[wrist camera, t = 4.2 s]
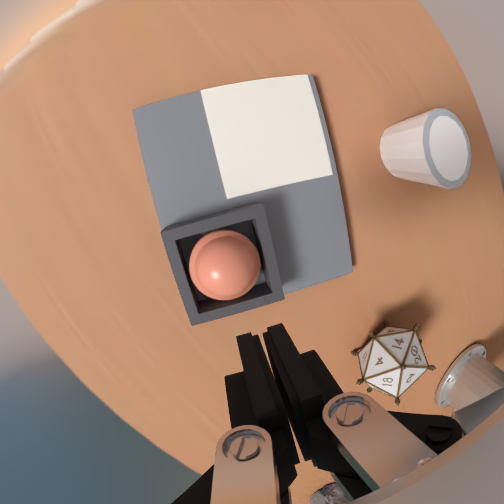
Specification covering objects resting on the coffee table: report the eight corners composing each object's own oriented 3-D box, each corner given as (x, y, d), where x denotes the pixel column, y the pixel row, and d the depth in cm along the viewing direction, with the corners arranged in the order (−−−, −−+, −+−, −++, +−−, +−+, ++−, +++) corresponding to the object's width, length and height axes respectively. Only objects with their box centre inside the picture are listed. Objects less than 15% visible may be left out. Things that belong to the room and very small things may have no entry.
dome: (261, 279, 24) (274, 300, 20) (200, 297, 23) (201, 321, 19) (246, 219, 22) (257, 227, 18) (182, 236, 22) (177, 249, 18)
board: (347, 269, 26) (366, 280, 23) (191, 315, 25) (191, 335, 21) (308, 78, 21) (323, 64, 18) (135, 112, 20) (124, 101, 16)
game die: (347, 324, 32) (355, 324, 23) (412, 314, 30) (443, 309, 21) (351, 395, 30) (359, 421, 21) (416, 384, 28) (446, 403, 19)
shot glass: (398, 106, 23) (445, 93, 17) (432, 157, 25) (480, 156, 19) (362, 145, 24) (410, 138, 17) (401, 199, 26) (450, 206, 19)
